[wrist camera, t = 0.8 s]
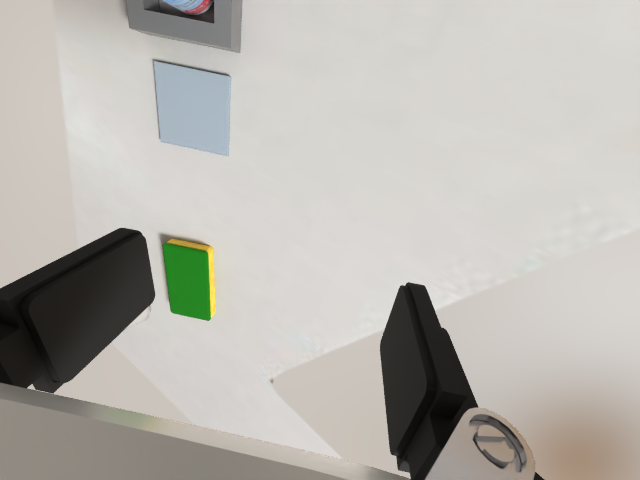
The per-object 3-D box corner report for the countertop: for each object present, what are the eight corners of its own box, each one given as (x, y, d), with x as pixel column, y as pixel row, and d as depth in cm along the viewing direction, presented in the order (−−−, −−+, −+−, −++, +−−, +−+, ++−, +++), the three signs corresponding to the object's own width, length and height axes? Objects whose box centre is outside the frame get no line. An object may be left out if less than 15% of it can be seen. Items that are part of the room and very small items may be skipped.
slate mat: (156, 61, 31) (153, 61, 31) (230, 76, 31) (229, 76, 31) (163, 141, 35) (160, 141, 35) (228, 155, 35) (227, 156, 35)
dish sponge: (214, 245, 42) (206, 252, 40) (216, 312, 48) (209, 321, 46) (171, 236, 43) (161, 243, 40) (178, 304, 49) (170, 313, 47)
